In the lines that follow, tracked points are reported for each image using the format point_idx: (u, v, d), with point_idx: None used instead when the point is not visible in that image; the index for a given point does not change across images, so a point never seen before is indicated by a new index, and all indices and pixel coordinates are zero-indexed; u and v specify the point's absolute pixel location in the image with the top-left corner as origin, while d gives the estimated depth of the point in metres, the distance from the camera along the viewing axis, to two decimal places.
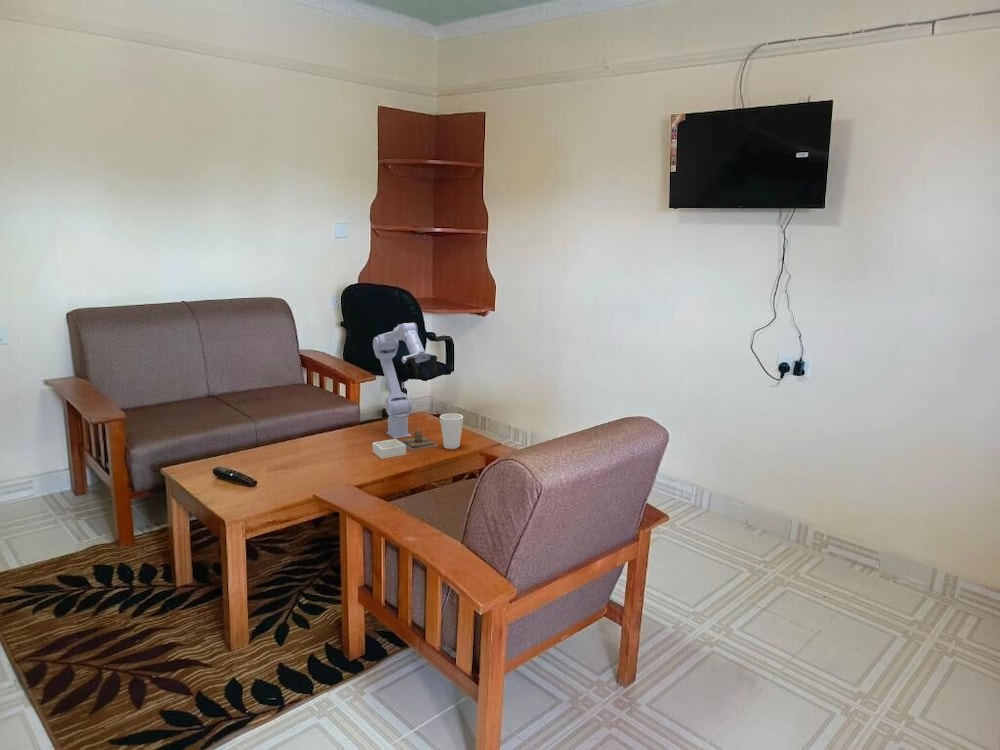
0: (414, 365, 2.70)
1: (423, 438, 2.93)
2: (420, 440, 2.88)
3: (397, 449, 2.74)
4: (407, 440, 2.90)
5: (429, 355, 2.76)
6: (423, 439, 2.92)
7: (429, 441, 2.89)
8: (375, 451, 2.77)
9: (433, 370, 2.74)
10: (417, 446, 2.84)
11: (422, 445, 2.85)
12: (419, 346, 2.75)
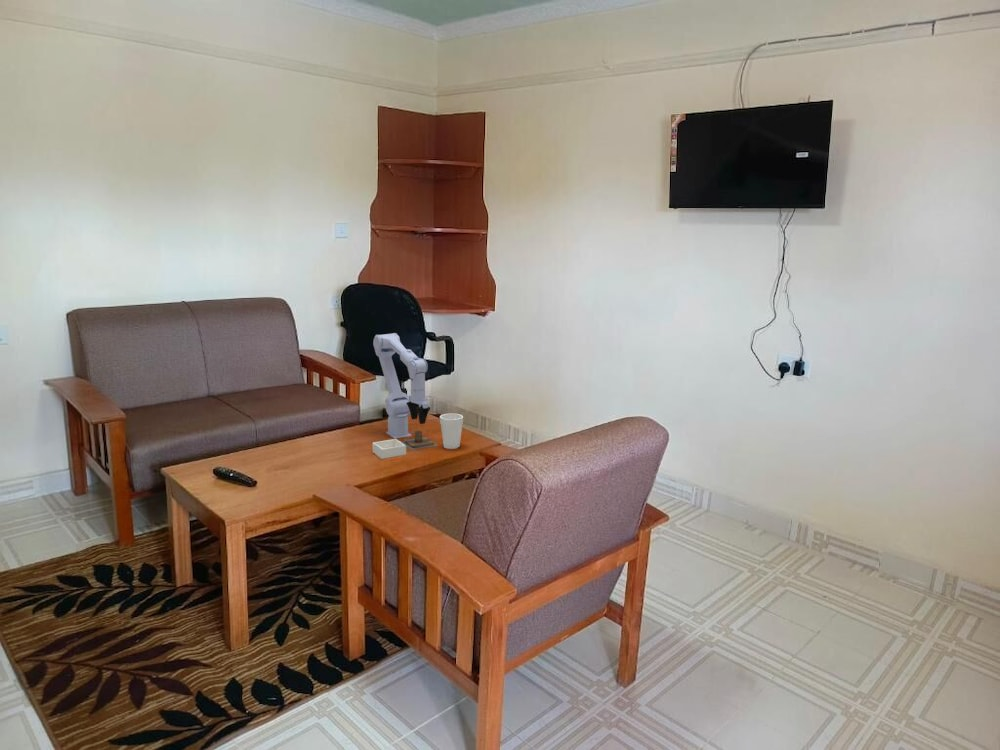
0: None
1: (423, 438, 2.93)
2: (420, 440, 2.88)
3: (397, 449, 2.74)
4: (407, 440, 2.90)
5: None
6: (423, 439, 2.92)
7: (429, 441, 2.89)
8: (375, 451, 2.77)
9: (414, 414, 2.90)
10: (417, 446, 2.84)
11: (422, 445, 2.85)
12: None
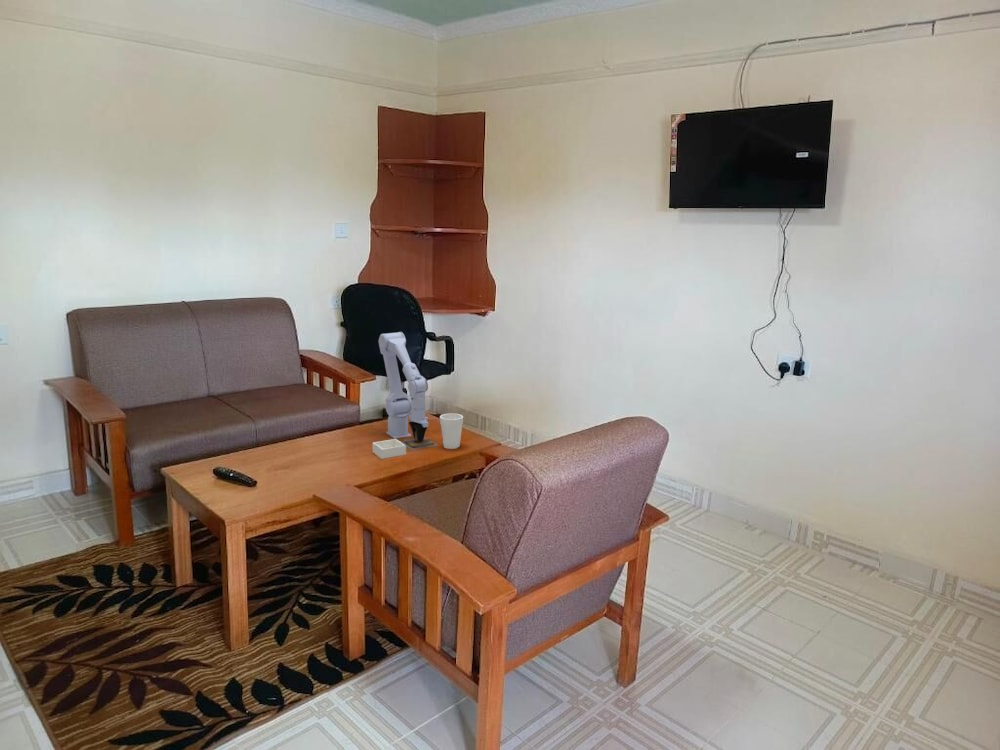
0: None
1: None
2: None
3: (397, 449, 2.74)
4: (407, 440, 2.90)
5: None
6: (423, 439, 2.92)
7: (429, 441, 2.89)
8: (375, 451, 2.77)
9: None
10: (417, 446, 2.84)
11: (422, 445, 2.85)
12: None
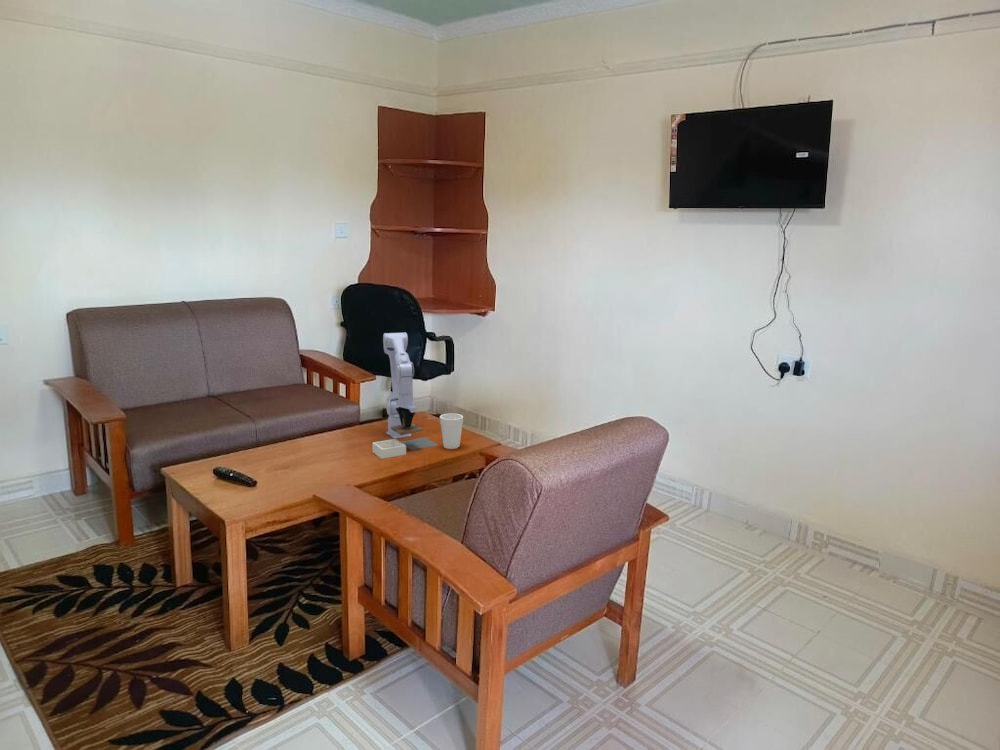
0: None
1: (411, 424, 2.86)
2: None
3: (397, 449, 2.74)
4: (395, 427, 2.83)
5: None
6: (411, 425, 2.85)
7: (417, 427, 2.83)
8: (375, 451, 2.77)
9: None
10: (405, 433, 2.78)
11: (410, 431, 2.79)
12: None
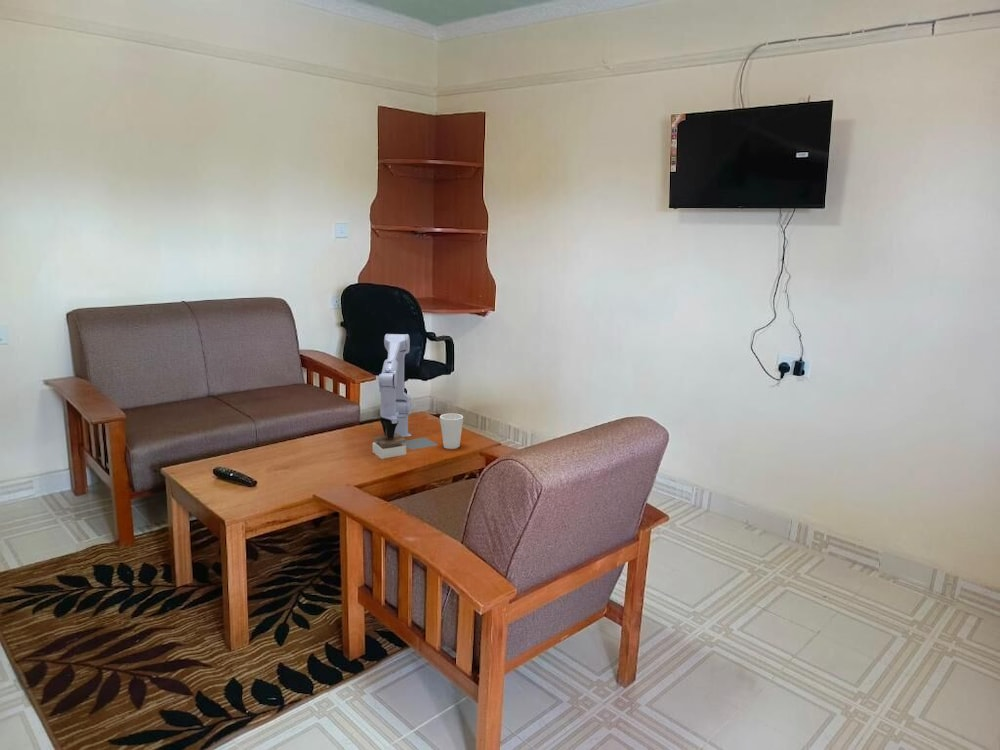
0: None
1: (395, 435, 2.80)
2: None
3: (397, 449, 2.74)
4: (378, 438, 2.77)
5: None
6: (395, 436, 2.79)
7: (401, 438, 2.76)
8: (375, 451, 2.77)
9: None
10: (387, 444, 2.71)
11: (393, 443, 2.73)
12: None
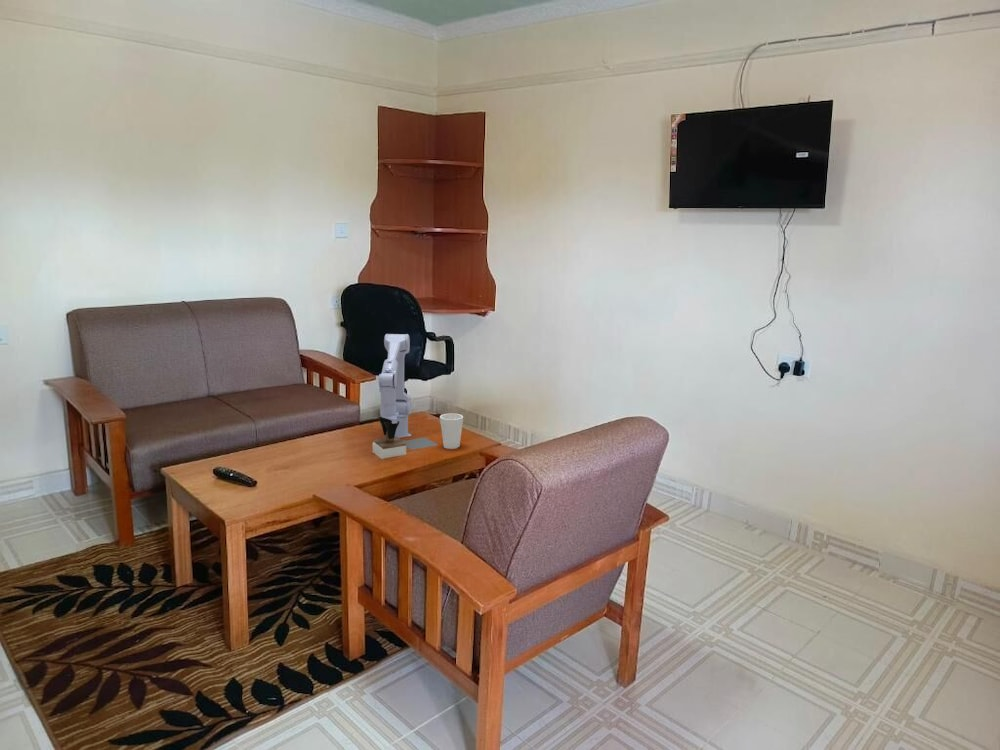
0: None
1: (395, 438, 2.80)
2: (391, 440, 2.76)
3: (397, 449, 2.74)
4: (378, 440, 2.78)
5: None
6: (395, 439, 2.79)
7: (401, 442, 2.77)
8: (375, 451, 2.77)
9: (386, 430, 2.78)
10: (387, 447, 2.72)
11: (393, 446, 2.73)
12: None
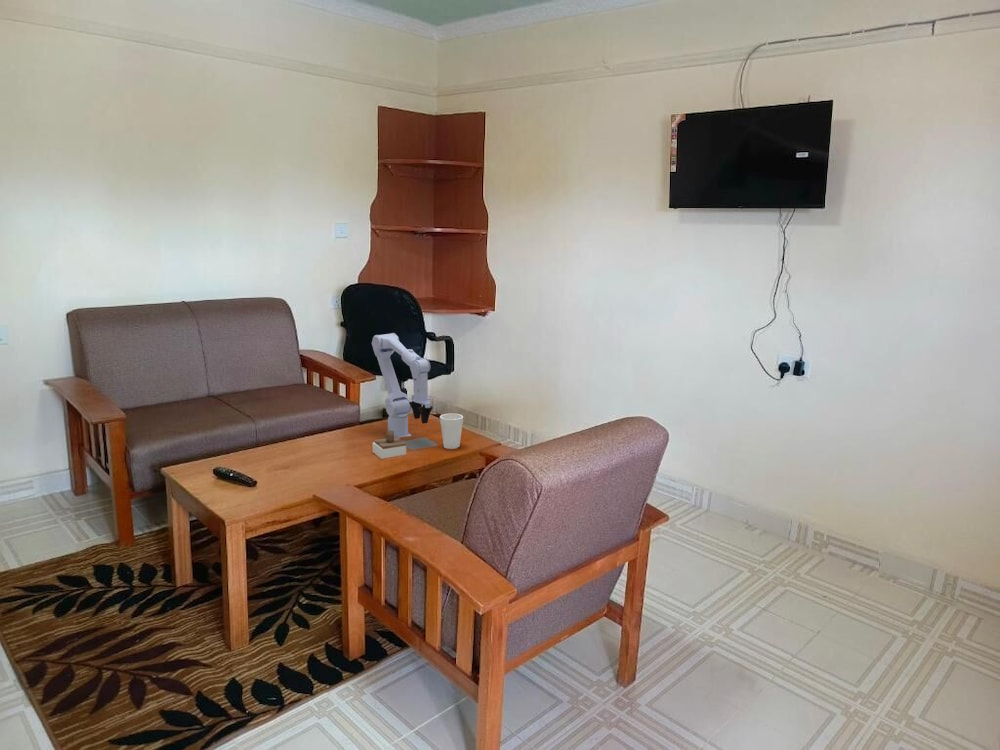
0: None
1: (395, 438, 2.80)
2: (391, 440, 2.76)
3: (397, 449, 2.74)
4: (378, 440, 2.78)
5: None
6: (395, 439, 2.79)
7: (401, 442, 2.77)
8: (375, 451, 2.77)
9: (417, 414, 2.91)
10: (387, 447, 2.72)
11: (393, 446, 2.73)
12: None
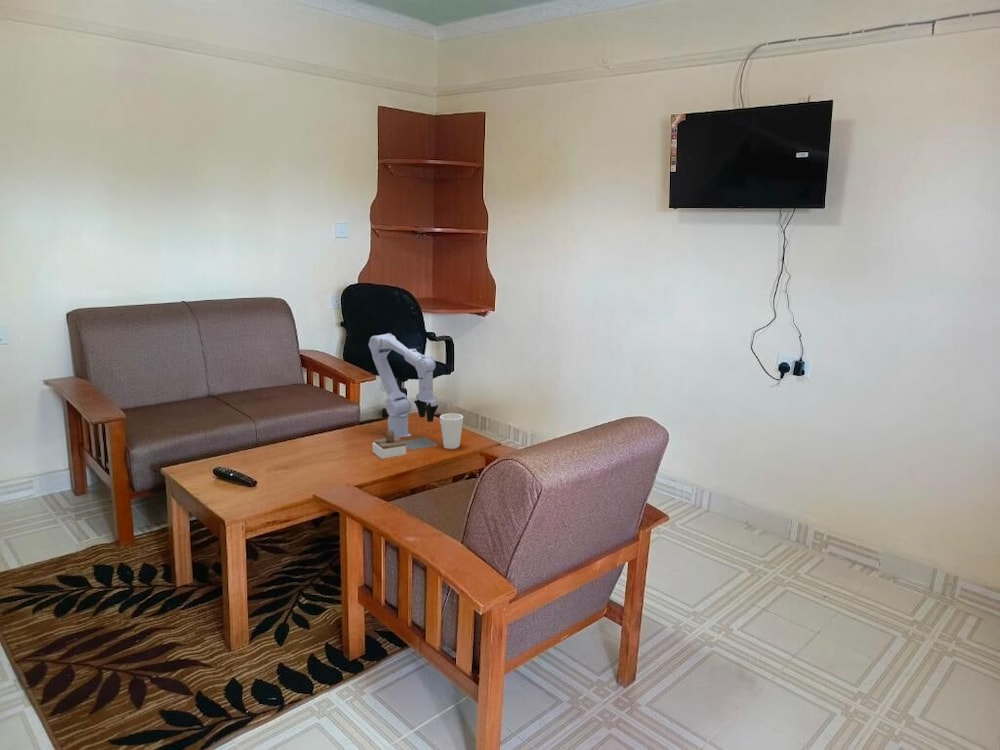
0: None
1: (395, 438, 2.80)
2: (391, 440, 2.76)
3: (397, 449, 2.74)
4: (378, 440, 2.78)
5: None
6: (395, 439, 2.79)
7: (401, 442, 2.77)
8: (375, 451, 2.77)
9: (422, 412, 2.93)
10: (387, 447, 2.72)
11: (393, 446, 2.73)
12: None
